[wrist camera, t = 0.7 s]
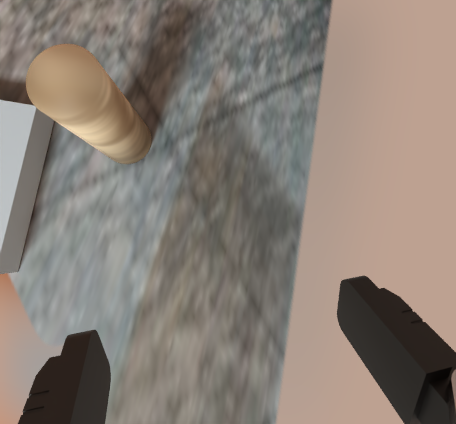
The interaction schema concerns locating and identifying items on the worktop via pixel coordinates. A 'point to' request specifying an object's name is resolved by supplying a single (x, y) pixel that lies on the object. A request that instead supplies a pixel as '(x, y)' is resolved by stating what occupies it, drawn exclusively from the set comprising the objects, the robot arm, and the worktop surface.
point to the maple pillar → (87, 102)
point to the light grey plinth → (19, 175)
